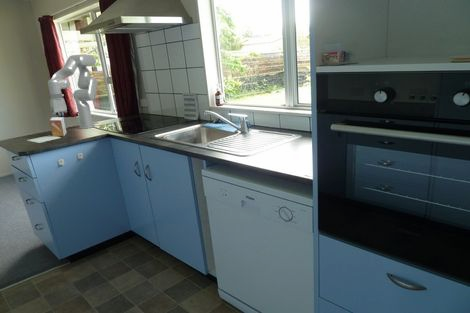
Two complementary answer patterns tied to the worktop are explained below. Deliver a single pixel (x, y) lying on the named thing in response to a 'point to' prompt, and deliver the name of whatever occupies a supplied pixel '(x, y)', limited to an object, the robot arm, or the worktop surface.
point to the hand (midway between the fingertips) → (61, 121)
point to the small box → (58, 126)
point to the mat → (43, 139)
